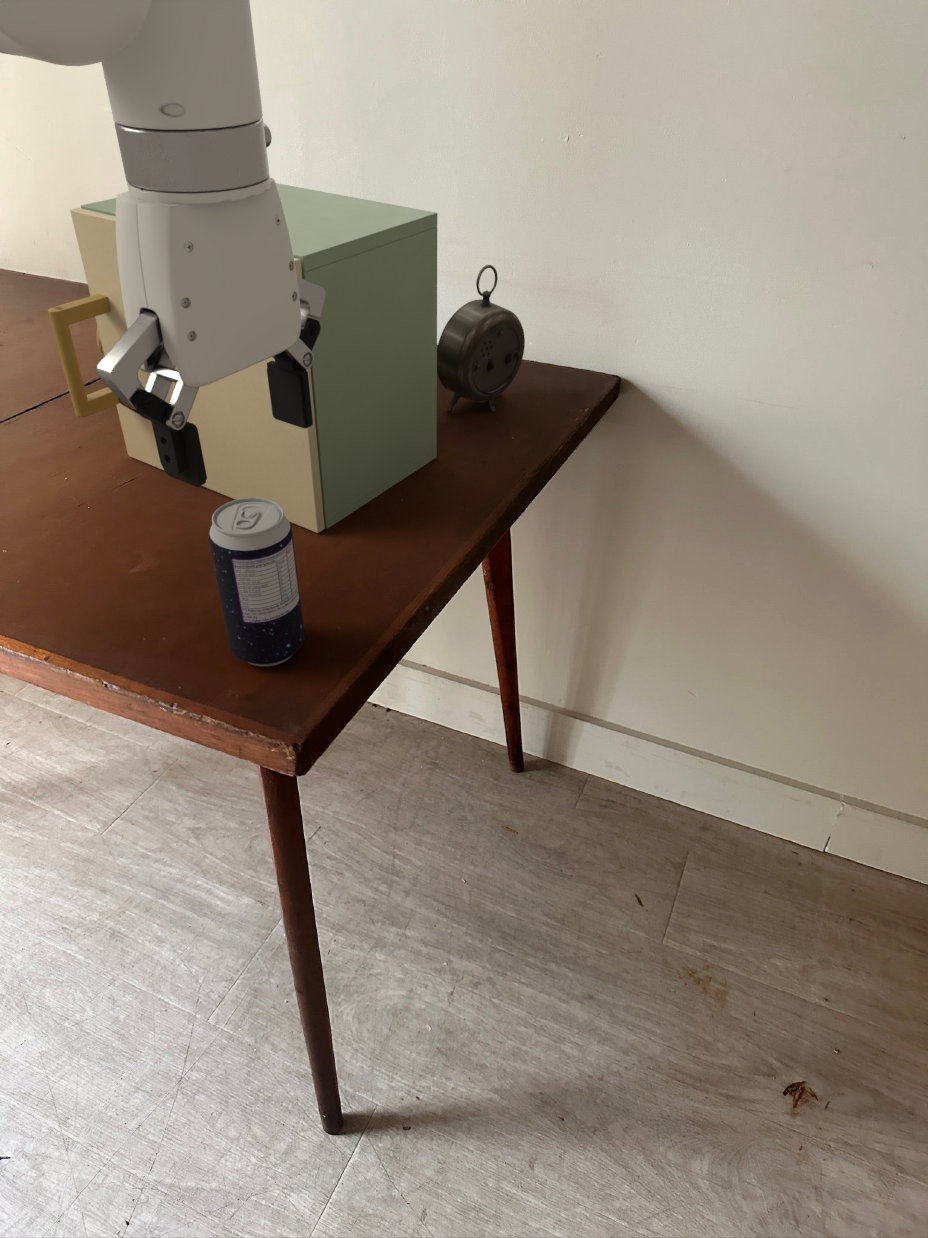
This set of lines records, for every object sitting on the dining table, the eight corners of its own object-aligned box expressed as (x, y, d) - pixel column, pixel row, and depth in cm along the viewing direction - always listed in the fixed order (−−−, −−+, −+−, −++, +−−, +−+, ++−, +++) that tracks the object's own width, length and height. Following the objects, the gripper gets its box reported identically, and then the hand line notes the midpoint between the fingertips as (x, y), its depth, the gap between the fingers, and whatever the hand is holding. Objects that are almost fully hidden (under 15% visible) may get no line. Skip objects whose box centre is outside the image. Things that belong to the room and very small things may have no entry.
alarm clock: (497, 387, 108) (503, 251, 98) (528, 400, 105) (539, 261, 95) (432, 411, 102) (433, 268, 92) (464, 426, 99) (468, 280, 89)
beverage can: (313, 629, 69) (298, 497, 62) (295, 676, 64) (277, 539, 57) (243, 623, 69) (221, 492, 62) (221, 670, 65) (193, 533, 57)
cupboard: (326, 529, 81) (303, 256, 66) (137, 453, 92) (80, 205, 77) (436, 457, 93) (437, 212, 78) (257, 397, 104) (227, 173, 89)
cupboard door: (274, 561, 76) (237, 279, 61) (82, 477, 87) (11, 221, 73) (325, 529, 81) (301, 258, 66) (135, 452, 92) (79, 207, 77)
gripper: (259, 129, 53) (290, 391, 64) (7, 177, 42) (96, 487, 53) (353, 143, 50) (369, 416, 61) (109, 199, 39) (181, 524, 49)
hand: (242, 449), depth 57 cm, fingers open, 9 cm apart
